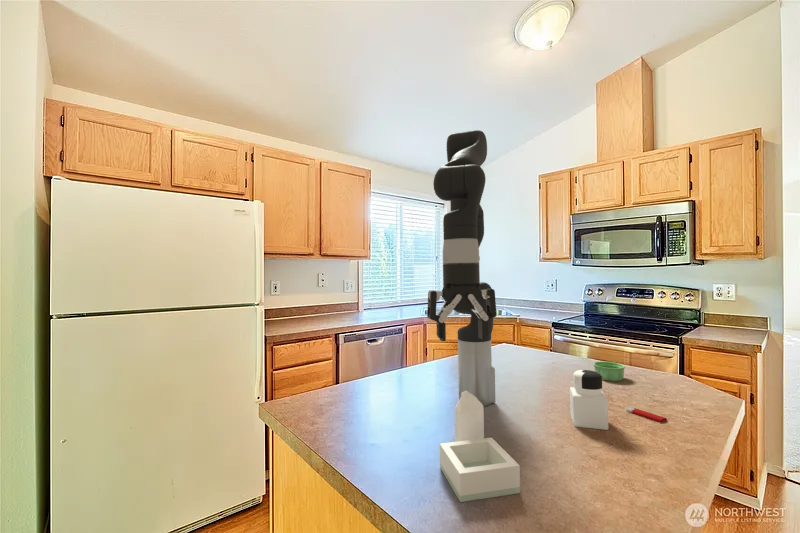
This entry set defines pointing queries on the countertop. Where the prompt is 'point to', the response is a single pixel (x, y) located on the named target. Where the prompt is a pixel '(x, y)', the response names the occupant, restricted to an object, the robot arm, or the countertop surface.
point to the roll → (469, 418)
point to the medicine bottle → (588, 401)
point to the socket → (479, 469)
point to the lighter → (646, 415)
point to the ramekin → (610, 370)
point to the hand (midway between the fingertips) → (462, 339)
